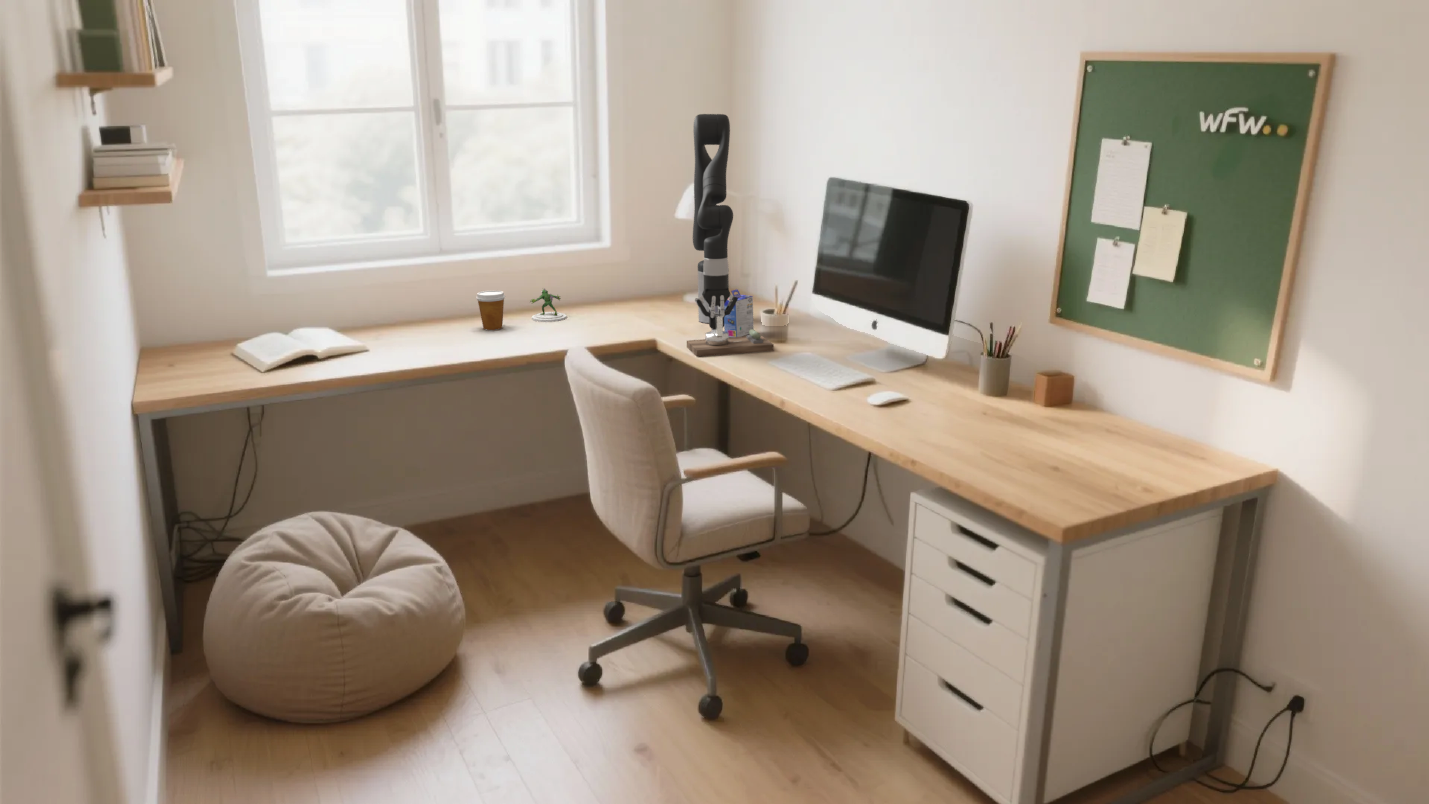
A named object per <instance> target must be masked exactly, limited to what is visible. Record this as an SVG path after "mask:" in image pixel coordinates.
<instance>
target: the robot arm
mask: <svg viewBox="0 0 1429 804" xmlns="http://www.w3.org/2000/svg"><path fill="white" fill-rule="evenodd" d="M729 118H730V117H728V115H727V114H723V113H722V114H721V113H700V114H697V115H696V116H695V118H694V119H693V120H694V121H693V147H694V173H693V174H694V175H693V194H694V196H693V199H694V202H693V203H694V204H693V205H694V210H693V211H694V212H693V213H694V214H693V227H692V245H693V247H694V249H695V250H696V251H701V252H703V260H701V261H699V262H698V263H697V295H698V296H697V297H696V298H695V299H694V302H695V303H696V305H697V307H698V313H697V314H698V321H699V322H700V323H704V324H708V326H709V328H710V329H712V330H715V318H714V313H715V312H717V313H719V314H720V315H721V316H722V317H723V328H724V317H725V316H726V315H729V314H730V313H731V311H732V309H733V307H734V306H735V304H736V302H737V300H738V298H737V297H736V296H733V295H732V293H731V291H730V285H729V281H730V280H729V278H730V277H729V274H730V273H729V272H730V269H729V260H728V241H729V234H730V231H731V227H732V225H733V220H734V211H733V209H732V207H731V206H729V205H726V204H721V203H723V202H725V201H726V199H727V170H728V169H727V168H728V160H729V150H730V138H731V137H730V136H731V123H730V119H729ZM708 145H709V146H711V145H712V146H717V145H718V149H717V152H716V153H715V155H714V156H713V158H711V157H710V155H709V153H708V151H707V148H706V146H708ZM728 298H729V301H730V302H729V303H728V305H727V307H726V309H725V308H724V304H725V302H726V301H727V299H728ZM724 309H725V311H724Z"/></svg>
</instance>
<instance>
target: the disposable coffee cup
mask: <svg viewBox="0 0 1429 804" xmlns="http://www.w3.org/2000/svg"><path fill="white" fill-rule="evenodd" d="M505 297H506V295H505V293H504V291H502V290H484V291H482V290H481V291H479V292H477V293H476V297H475V298H476V301H477V304H478V309H479V315H480V318H481V323H482V327H483V330H485V329H487V330H488V331H495V329H497V330H501V329H502V328H503V323H504V321H503V320H504V306H505V305H504V304H505ZM487 330H486V331H487Z"/></svg>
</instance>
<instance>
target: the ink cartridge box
mask: <svg viewBox="0 0 1429 804" xmlns="http://www.w3.org/2000/svg"><path fill="white" fill-rule="evenodd" d="M730 293H731V295H733V296H736V297H737V298H738V300H737V302H736V304H735V306H734V307H733V309H732V311H731V313H730V314H729V315H726V316H725V317H724V327H723V329H724V332H728V338H730V337H744V336H747V335H750V334H749V331H750V330H751V329H754V328H755V327H754V326H755V325H754V296H753V295H746V294H741V293H740V291H739V289H737V288H736V289H733V290H731V291H730ZM735 293H736V294H735ZM729 302H730V301H729V298H728V299H727V301H726V302H725V304H724V308H725V309H726V307H727V305H728V303H729ZM725 309H724V311H725ZM754 330H755V329H754Z"/></svg>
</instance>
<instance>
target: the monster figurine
mask: <svg viewBox="0 0 1429 804" xmlns="http://www.w3.org/2000/svg"><path fill="white" fill-rule="evenodd" d="M554 299H556V300H558V301H561V296H559V294H557V295H555V294H552V293H549V291H548V290H547V289H546V288H544V287H543V289H542V290H541V294H540V295H539V297H537V298H536V299H535V298H532V299H530V300H529V301H530V302H529V303H531V304H534V303H536V302H538V301H540V300H543V302H544V303H543V304H541V305H542V306H541V310H542V311H541V312H540V313H536V314H533V315H532V316H531V320H532V321H534V322H537V321H538V322H540V323H553V322H560V321H564V320H566V319H567V314H566V313H563V312H557V310H556V308H555V306H554V305H553V300H554ZM548 306H549V307H550V308H551V309H552V310H553V311H545V308H546V307H548Z"/></svg>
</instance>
